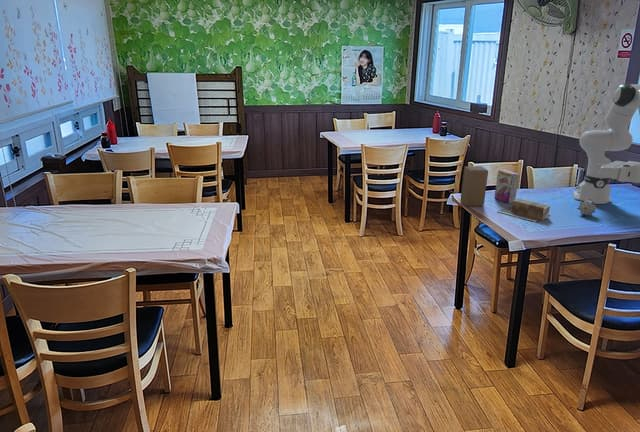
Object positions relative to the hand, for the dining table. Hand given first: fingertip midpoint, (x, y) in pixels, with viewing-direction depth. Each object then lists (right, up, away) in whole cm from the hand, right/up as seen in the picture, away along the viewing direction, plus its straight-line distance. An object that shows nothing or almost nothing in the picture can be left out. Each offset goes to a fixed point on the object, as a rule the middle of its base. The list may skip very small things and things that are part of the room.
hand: (595, 165), depth 206 cm
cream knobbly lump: (+10, -23, +25) cm, 35 cm away
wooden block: (-43, -17, +41) cm, 61 cm away
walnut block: (-14, -21, +17) cm, 31 cm away
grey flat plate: (-21, -22, +26) cm, 40 cm away
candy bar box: (-23, -15, +47) cm, 54 cm away
